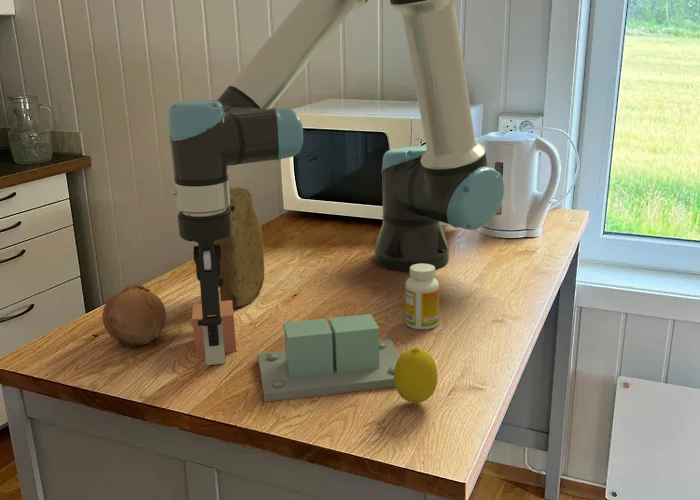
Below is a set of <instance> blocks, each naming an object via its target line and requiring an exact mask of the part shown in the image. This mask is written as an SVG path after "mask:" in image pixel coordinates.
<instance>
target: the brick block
mask: <svg viewBox="0 0 700 500" xmlns="http://www.w3.org/2000/svg"><path fill="white" fill-rule="evenodd" d="M219 304H220V318H222V329H223V342H224V354H225V353H233V352H237V344H236V343H237V342H236V332H235V331H236V329H235V319H234V317H235V316H234V308H233V305H232V300H229V301H219ZM191 315H192V317H191V318H192V319H191V320H192V329H193V339H194V349H195V350H194V351H195V356H203V355H204V356H205V345H204V334H203V325H202V326H198V320H202V319H203V317H202V303H201V302H200V303H199V302H196V303H192V314H191ZM212 316H216V315H212Z"/></svg>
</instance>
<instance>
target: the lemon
mask: <svg viewBox="0 0 700 500" xmlns="http://www.w3.org/2000/svg"><path fill="white" fill-rule="evenodd" d="M437 368H438V367H437V365H436V362H435V359H434V358H433V356H432V355H431V354H430V353H429V352H427V351H426V350H424V349H421V348H419V347H418V346H417V347H416V346H415V347H413V348H410V349H408V350H405V351H403V352H402V354H400V357H399V358H398V360H397V363H396V366H395V370H394V382H395V390H396V392H397V393H398V394H399V396H400V397H401V398H402V399H403V400H405V401H407V402H410V403H411V404H413V405H416V406H417V405H418V404H420V403H423V402H425V401H427V400H428V399H429V398H431V397H432V396H433V395H434V393H435V391H436V388H437V384H438V369H437Z"/></svg>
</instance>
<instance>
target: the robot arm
mask: <svg viewBox="0 0 700 500" xmlns="http://www.w3.org/2000/svg"><path fill="white" fill-rule="evenodd" d="M368 1H369V0H299V2H298V3H297V4H296V5H295V6H294V7H293V9H292V10H291V11H290V13H288V14H287V16H286V18H284V20H283V21H282V22H281V23H280V25H279V26H278V27H277V28H276V29H275V30H274V32H273V33H272V34H271V35H270V37H268V39H267V40H266V41H265V42H264V44H263V45H262V46H261V48H259V50H258V51H257V52H256V53H255V54H254V56H253V57H252V58H251V59H250V61H249V62H248V63H247V64H246V65H245V67H243V69H242V70H241V71H240V72H239V74H237V76H236V77H235V78H234V80H233V81H231V83H230V84H229V85H228V86H227V88H226V89H225V90H224V91H223V92H222V93H221V95H220V96H219V97H218V98H217V99H192V100H191V99H190V100H182V101H177V102H175V103H173V104H172V105H171V106H170V107H169V111H168V133H169V134H168V138H169V141H170V149H171V151H170V152H171V157H172V168H173V169H172V170H173V176H174V179H173V180H174V185H175V188H172V189H171V190H170V194H171V196H176V200H175V201H176V207H177V210H179V212H178V214H177V223H178V233H179V237H180V238H181V239H182V240H184V241H187V242H196V243H197V244H198V245H194V246H193V262H194V264H195V269H196V272H195V273H196V279H197V280H198V281H199V287H200V300H201V302H200V303H202V317H203V319H202V320H198V326H202V325H203V334H204V345H205V355H204V356H205V364H206V366H212V365H214V366H215V365H223V364H226V357H225V356H226V355H225V353H224V342H223V329H222V318H220V304H219V301H221V296H220V287H218V286H223V279H220V278H221V270H220V262H221V248H220V244H218V245H215V241H216V240H218V239H223V238H226V237H227V236H229V235H230V234H231V231H232V229H231V215H230V211H229V210H228V209H227V208H228V207H229V205H230V196H229V187H230V185H229V174H228V166H229V167H230V166H237V165H245V164H252V163H260V162H261V163H262V162H268V161H269V162H270V161H271V162H272V161H281V160H284V159H288V158H289V159H290V158H292V157H295V156H297V155H299V153H300V152H301V149H302V147H303V144H304V129H303V124H302V121H301V118H300V117H299V115H298V114H297V112H296V111H295V110H293V109H292V108H289V107H284V108H283V107H282V108H281V107H280V108H279V107H273V106H274V105H275V104H276V103H277V102H278V101H279V99H280V98H281V97H282V96H283V94H284V93H285V92H286V91H287V90H288V88H289V87H290V86H291V85H292V83H293V82H294V81H296V79H297V77H298V76H299V75H300V74H301V73H302V71H304V69H305V68H306V66H307V65H309V63H310V62H311V61H312V59H313V58H314V57H315V56H316V55H317V53H318V52H319V51H320V50H321V48H322V47H323V46H324V44H326V42H327V41H328V40H329V39H330V38H331V36H332V35H333V34H334V32H335V31H336V30H337V29H338V28H339V26H341V24H342V23H343V22H344V20H345V19H346V18H347V17H348V16H349V14H350V13H351V12H352V11H353V10H354V9H361V8H363V7H364V6H365V5H366V4H367V2H368ZM389 1H390V6H391V7H392V8H393V9H395V10H397V12H399V13H401V16H402V20H403V25H404V31H405V37H406V42H407V43H406V44H407V48H408V52H409V59H410V64H411V70H412V75H413V80H414V87H415V92H416V96H417V97H416V98H417V102H418V108H419V115H420V120H421V127H422V129H423V135H424V141H425V142H424V143H425V145H419V146H418V145H417V146H407V147H406V146H405V147H398V148H393V149H389V150H387V151H385V153H384V154H383V157H382V166H381V171H380V172H381V176H382V177H381V179H382V181H381V182H382V184H381V185H382V189H381V190H382V225H381V227H380V230H379V234H378V237H377V240H376V243H375V247H374V261H375V263H376V264H377V265H379V266H381V267H383V268H386V269H389V270H396V271H403V272H410V266H412V265H414V264H421V263H423V264H430V265H433V266H434V267H435V269H438V268H441V267H443V266H445V265H446V264H448V262H449V261H450V259H449V258H450V256H449V255H450V249H449V246H448V243H447V239H446V236H445V232H444V229H443V226H442V223H444V224H447V225H450V226H451V227H453V228H455V229H463V230H469V231H473V230H477V229H481V228H482V227H484V226H486V225H487V224H489V223H490V221H492V220H493V219H494V218H495V216H497V212H498V210H499V209H500V208H501V206H502V203H503V200H504V196H505V182H504V179H503V176H502V174H500V172H498V171H497V170H496V169H495V168H493V167H490V166H488V159H487V152H486V148H485V146H484V145H482V144H480V142H477V140H476V137H475V132H474V131H475V130H474V124H473V118H472V111H471V105H470V104H471V103H470V98H469V91H468V85H467V78H466V72H465V71H466V70H465V66H464V58H463V50H462V45H461V44H462V43H461V38H460V32H459V24H458V19H457V11H456V5H455V3H456V0H389ZM212 315H216V316H212Z"/></svg>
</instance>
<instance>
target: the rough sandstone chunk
mask: <svg viewBox="0 0 700 500" xmlns="http://www.w3.org/2000/svg"><path fill="white" fill-rule="evenodd" d="M229 196H230V205H229V207H228V208H227V209H228V210H229V211H230V215H231V229H232V231H231V234H230V235H229V236H227V237H226V238H223V239H218V240H216V241H215V245H218V244H220V248H221V262H220V270H221V278H220V279H223V286H218V287H220V296H221V301H229V300H232V305H233V309H234V308H240V307H244V306H247V305H249V304H250V303H252V302H254V300H255V299H256V298H257V297H258V296H259V295H260V293H261V290H262V288H263V285H264V280H265V258H264V257H265V255H264V241H263V238H264V237H263V232H262V231H263V230H262V225H261V221H260V218H259V216H258V214H257V211H256V209H255V207H254V204H253V198H252V192H251V190H250V189H248V188H245V187H230V186H229Z"/></svg>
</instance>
